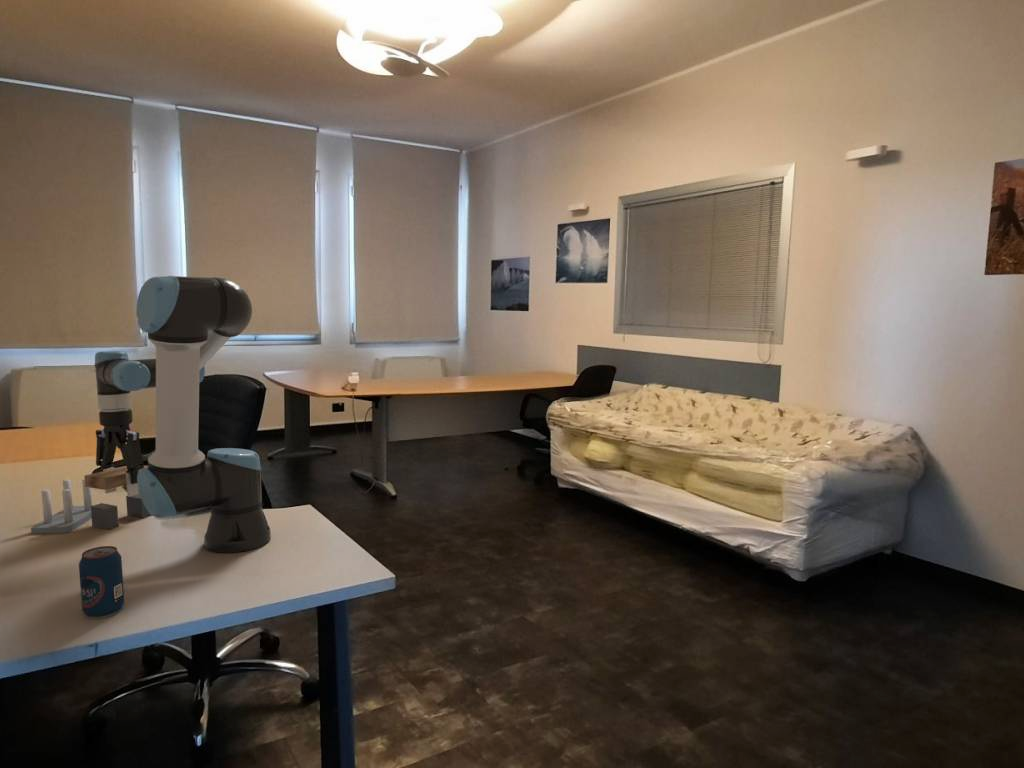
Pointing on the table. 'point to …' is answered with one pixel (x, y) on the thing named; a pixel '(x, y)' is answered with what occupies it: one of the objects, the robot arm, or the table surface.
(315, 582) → the table surface
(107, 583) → the soda can
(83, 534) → the table surface
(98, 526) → the rests
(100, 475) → the shelf board
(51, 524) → the peg stand
